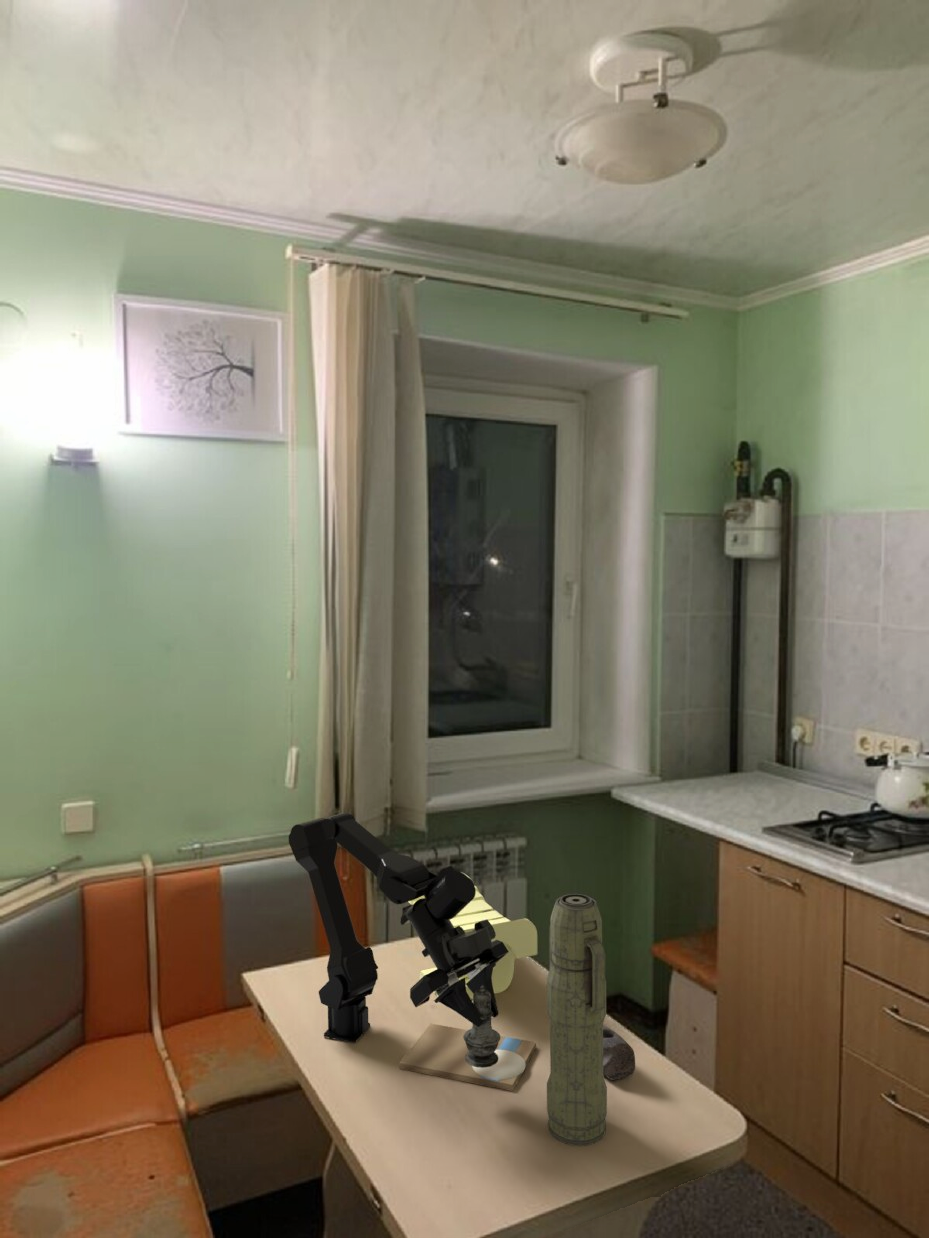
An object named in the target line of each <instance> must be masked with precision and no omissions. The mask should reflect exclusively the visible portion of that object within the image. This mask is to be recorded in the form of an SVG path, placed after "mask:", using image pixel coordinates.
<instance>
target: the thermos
mask: <svg viewBox="0 0 929 1238" xmlns="http://www.w3.org/2000/svg"><path fill="white" fill-rule="evenodd" d="M606 958H607V955H606V951H605V947H604V945H603V920H602V916H601V912H600V909H599V906H598V904H597V901H596V900H595V899H594V898H592V897H590V896H588V895H586V894H579V893H569V894H564V895H562V896H559V898H557V899H556V900H555V903H554V905H553V908H552V912H551V915H550V924H549V925H548V973H547V976H546V1012H547V1016H548V1018H549V1033H550V1035H549V1040H550V1041H549V1042H550V1043H549V1044H550V1046H549V1048H550V1049H549V1053H550V1054H549V1055H550V1056H549V1057H550V1058H549V1059H550V1060H549V1062H550V1065H549V1066H550V1068H549V1069H550V1074H549V1077H548V1079H547V1081H546V1110H547V1111H546V1112H547V1115H548V1120H547V1126H548V1131H549V1133H550V1134H551V1135H552V1137H554V1138H555V1139H556V1140H558V1141H559V1142H562V1143H564V1144H565V1145H566V1144H567V1145H572V1146H588V1145H592V1143H593V1144H595V1143H597V1142H598V1141H600V1139H601V1140H602V1139H603V1138H604V1136H605V1135H606V1131H607V1124H606V1118H607V1113H608V1096H607V1095H608V1086H607V1083H606V1081H605V1078H604V1074H603V1025H604V1021H605V1019H606V1016H607V980H606Z"/></svg>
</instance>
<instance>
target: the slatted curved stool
mask: <svg viewBox="0 0 929 1238" xmlns="http://www.w3.org/2000/svg"><path fill="white" fill-rule="evenodd" d="M460 872H461V873H463V874H465V875H466V876H467V877H468V878H470V879H471V880H472V878H471V877H470V876H468V875H467V874H466V873H464V872H462V871H460ZM474 886H475V890H476V894H475V897H474V899H473V900H472V901H471V902H470V903H469V904H468V905H467V906H465V907H464V908H463V909H462V910H461V911H460V912H459V913H458V914H457V915H456V916H455V917H454V918H453V919H450V921H451V923H452V924H453V926H454V928H455V927H457V926H460V927H462V928H463V930H464V932H465V933H467V932H470V931H472V930H474V927H475V924H476V923H478V922H480V921H482V920H486V919H487V920H488V921H489V922H490V924H491V925H492V926H493V928H494V931H495V934H496V936H495V938H494V939H492V940H491V941H492V942H493V941H495V940H499V941H502V942H503V943H504V945H505V947H506V948H507V950H508V951H509V952H508V953H507V954H506V955H505V956H504V957H503V958H502V959H500V960H499V961H498V962H497V963H496V966H495V967H494V968H493V972H492V985H493V990H494V995H495V994H500V993H503V992H504V991H506V990H507V989H508V988H509V987H510V984H511V982H512V980H513V977H514V972H515V971H514V970H515V961H516V960H515V959H522V958H527V957H532V956H537V955H538V931H537V927H536V925H534V923H533V922H532V921H530V919H528V918H520V919H514V920H511V919H508V918H507V917H504V916H503V915H502V914H501V913H499V912H498V911H497V910H495V909H494V908H493V907H492V906H491V905H490V904H488V903H487V901H486V900H485V897H484V896H483V895H482V894H481V893H480V890H479V889H478V887H477V886H476V885H475V884H474ZM422 898H425V897H424V896H421V897H419V898H417V899H414V900H412V901H408V903H409V905H413V904H414V903H415V902H416V901H417V900H419V899H422ZM435 970H437V967H436V966H435V967H431V968H428V969H423V970H420V974H419V976H418V978H419V980H420V979H421V978H422V977H423V976H425V975H427V974H429V973H431V972H433V971H435ZM463 978H465V982H466V983H468V982H469V981H470V979H469V977H468V976H467V975H465V976H463V977H461V978H459V980H461V979H463ZM466 991H467V993H468V995H469V997H470V999H471V1000H473V995H474V994H473V993H472V991H471V990H470V989H469V988H468V986H467V985H466ZM432 994H433V995H434V996H436V998H437V997H438V995H437V993H436V991H434V992H433V993H432Z"/></svg>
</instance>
